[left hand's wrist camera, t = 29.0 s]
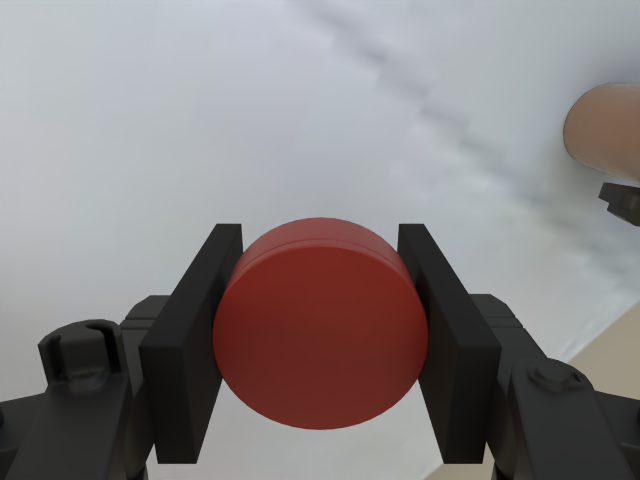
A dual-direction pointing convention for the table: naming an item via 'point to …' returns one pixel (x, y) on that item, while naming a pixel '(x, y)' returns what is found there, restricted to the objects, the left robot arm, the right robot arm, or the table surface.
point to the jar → (607, 130)
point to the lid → (320, 325)
